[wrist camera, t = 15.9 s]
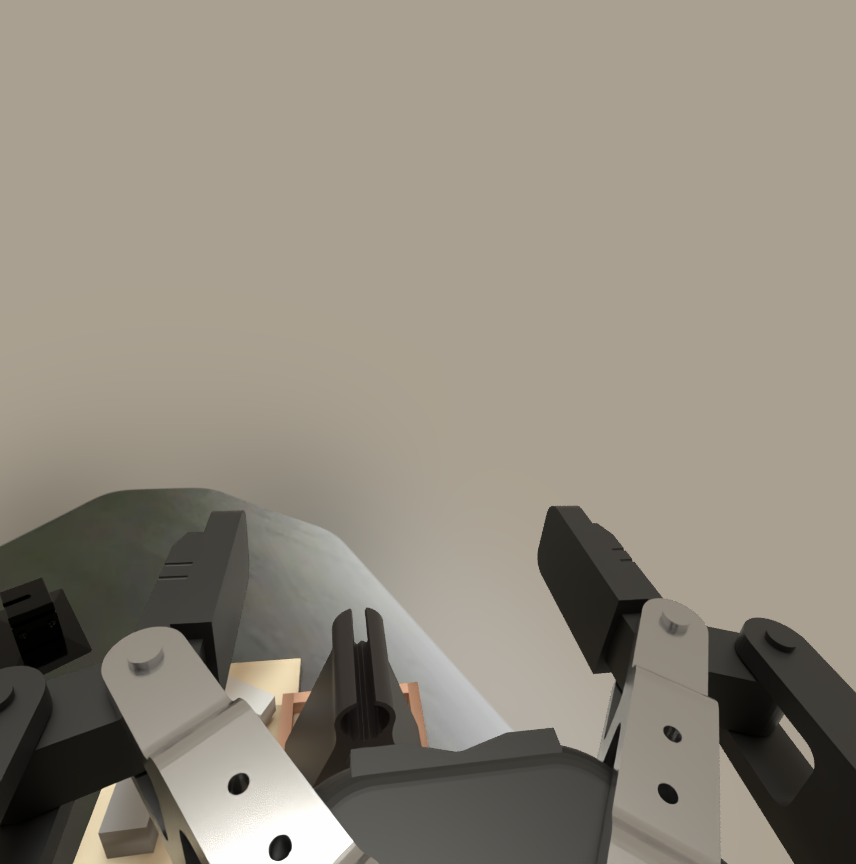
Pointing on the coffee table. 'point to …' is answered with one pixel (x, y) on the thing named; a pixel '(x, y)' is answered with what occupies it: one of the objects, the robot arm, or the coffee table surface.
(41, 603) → the black slotted box
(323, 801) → the robot arm
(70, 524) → the coffee table surface
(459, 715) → the coffee table surface
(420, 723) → the stand
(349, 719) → the phone stand
